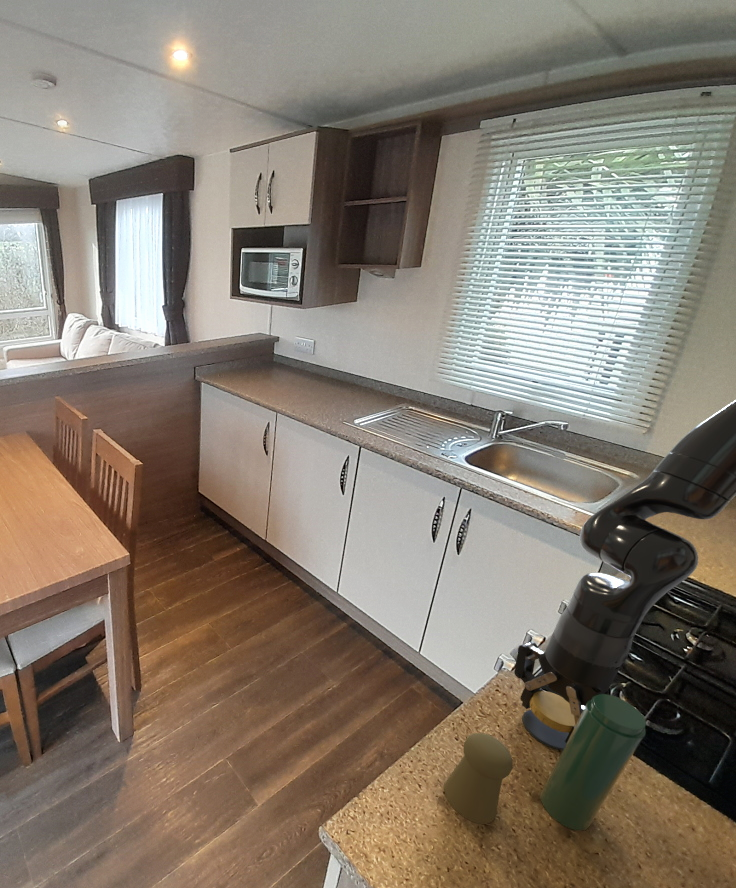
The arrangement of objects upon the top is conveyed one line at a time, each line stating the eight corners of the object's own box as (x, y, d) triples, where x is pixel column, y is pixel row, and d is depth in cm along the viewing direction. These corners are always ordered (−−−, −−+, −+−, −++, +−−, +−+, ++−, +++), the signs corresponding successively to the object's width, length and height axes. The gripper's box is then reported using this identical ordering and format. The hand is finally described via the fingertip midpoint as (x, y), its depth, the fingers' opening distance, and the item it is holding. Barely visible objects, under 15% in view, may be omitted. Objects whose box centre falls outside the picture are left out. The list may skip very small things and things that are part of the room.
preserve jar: (574, 792, 66) (628, 695, 58) (599, 834, 61) (662, 735, 54) (532, 784, 67) (580, 688, 59) (553, 826, 62) (608, 727, 54)
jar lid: (542, 729, 71) (545, 722, 70) (521, 694, 76) (524, 688, 76) (587, 736, 70) (591, 729, 69) (563, 700, 75) (567, 693, 74)
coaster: (558, 714, 76) (559, 712, 76) (584, 754, 71) (585, 751, 70) (514, 708, 78) (515, 706, 77) (535, 746, 72) (536, 744, 72)
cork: (499, 797, 66) (524, 745, 61) (491, 835, 61) (516, 781, 57) (449, 767, 69) (469, 715, 65) (438, 800, 65) (458, 748, 61)
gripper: (518, 614, 72) (487, 692, 79) (632, 693, 60) (584, 777, 67) (552, 602, 74) (519, 679, 81) (670, 676, 62) (620, 759, 69)
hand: (549, 723), depth 74 cm, fingers closed on jar lid, 5 cm apart
